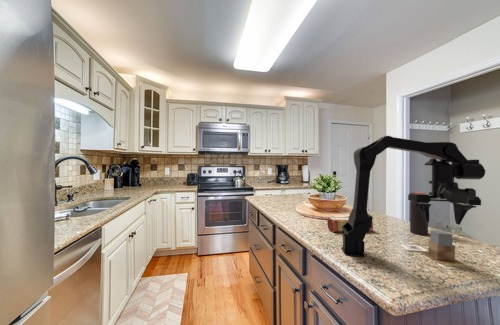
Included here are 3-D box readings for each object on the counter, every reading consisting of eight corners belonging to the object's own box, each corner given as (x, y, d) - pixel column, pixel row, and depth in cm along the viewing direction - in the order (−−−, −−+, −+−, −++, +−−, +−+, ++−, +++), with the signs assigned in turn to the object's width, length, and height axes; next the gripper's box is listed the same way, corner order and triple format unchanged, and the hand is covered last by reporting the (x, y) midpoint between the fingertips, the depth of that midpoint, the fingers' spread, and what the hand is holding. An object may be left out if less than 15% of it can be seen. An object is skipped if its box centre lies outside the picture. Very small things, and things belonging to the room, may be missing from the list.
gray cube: (438, 245, 69) (438, 233, 69) (430, 240, 73) (430, 229, 73) (452, 246, 69) (452, 234, 69) (443, 241, 73) (443, 230, 73)
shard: (417, 254, 78) (417, 249, 78) (437, 254, 78) (437, 249, 78) (445, 269, 67) (445, 263, 67) (468, 269, 67) (468, 263, 67)
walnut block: (437, 259, 70) (437, 244, 70) (428, 253, 74) (428, 239, 75) (454, 261, 68) (454, 246, 69) (444, 254, 73) (444, 241, 73)
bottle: (421, 231, 102) (421, 191, 102) (431, 236, 95) (432, 193, 96) (406, 230, 103) (407, 191, 103) (416, 235, 96) (416, 193, 96)
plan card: (407, 250, 78) (407, 248, 78) (400, 245, 83) (400, 243, 83) (428, 252, 77) (428, 250, 77) (419, 247, 82) (419, 245, 82)
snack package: (365, 228, 106) (366, 215, 106) (374, 233, 99) (374, 219, 99) (326, 229, 104) (326, 215, 104) (332, 233, 98) (332, 219, 98)
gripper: (427, 179, 65) (427, 228, 65) (498, 181, 61) (498, 233, 61) (407, 177, 76) (407, 219, 76) (466, 178, 72) (466, 222, 72)
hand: (442, 223), depth 71 cm, fingers open, 9 cm apart
